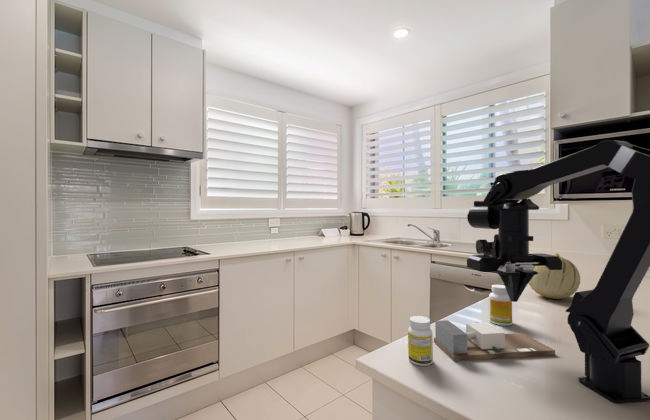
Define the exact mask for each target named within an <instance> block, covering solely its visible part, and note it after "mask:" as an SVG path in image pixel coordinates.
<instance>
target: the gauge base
mask: <svg viewBox="0 0 650 420" xmlns="http://www.w3.org/2000/svg"><path fill="white" fill-rule="evenodd" d="M433 343H434V344H435V345H436V346H437V347H438V348H439V349H440V350H441V351H443V352H444V354H446V355H447V356H448V357H449V358H450V359H451V360H452V361H453V362H461V361H476V360H477V361H478V360H490V359H489V358H497V359H511V357H514V358H526V357H527V358H528V357H530V358H531V357H543V356H544V357H545V356H555V355H556V350H555V349H553V348H551V347H549V345H546V344H544V343H542V342H541V341H539V340H537V339H535V338H533V337H532V336H529V335H528V334H526V333H524V332H517V333H516V332H515V333H505V348H498V349H499V350H501V352H499V353H498V352H497V351H496V350H494V349H481V348H480V347H478V346H477V345H476V344H474V343H473V342H472V341H470V340H467V354H460V355H453V354H452V353H451V352H450V351H449V350H448V349H446V348H445V347H444V346H443V345H442V344H441V343H440V342H439V341H438V340H437V339H436V338H435V337H433Z"/></svg>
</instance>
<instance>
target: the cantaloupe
mask: <svg viewBox="0 0 650 420" xmlns="http://www.w3.org/2000/svg"><path fill="white" fill-rule="evenodd" d="M554 256H559V258H560V259H561V260H562V270H549V269H548V268H547V267H546V266H533V271H537V272H538V274H536V275H534V276H533V277H532V279H531V280H530V282H529V283H528V286H529V287H530V288H531V289H532V291H534V292H535V293H536V294H538V295H540V296H542V297H544V298H547V299H554V300H560V299H566V298H569V297H571V296H574V294H575V293H576V292H578V289H579V286H580V284H581V275H580V271H579V269H578V268H577V266H576V265H575V264H574V263H573V262H572V261H570V260H569V259H566V258H564V257H563V256H560V254H559V253H557V252H556V253H555V255H554Z"/></svg>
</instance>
